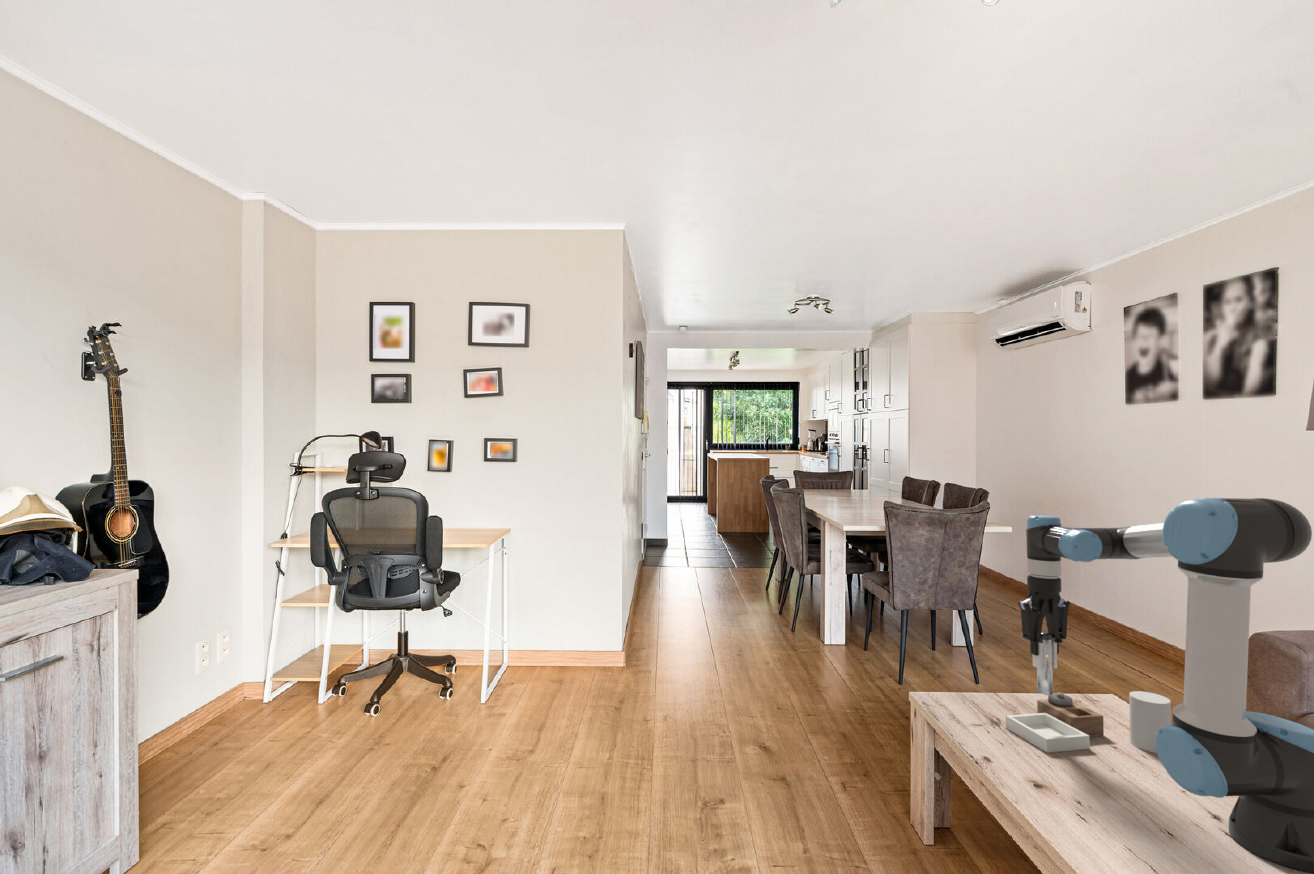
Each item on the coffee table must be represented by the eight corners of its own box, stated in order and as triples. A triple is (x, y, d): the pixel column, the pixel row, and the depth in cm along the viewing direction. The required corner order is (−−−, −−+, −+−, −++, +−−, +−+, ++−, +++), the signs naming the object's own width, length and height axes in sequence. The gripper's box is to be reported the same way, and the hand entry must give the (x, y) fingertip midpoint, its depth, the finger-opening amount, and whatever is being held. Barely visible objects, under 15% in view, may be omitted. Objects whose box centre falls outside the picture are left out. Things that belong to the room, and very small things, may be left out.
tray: (1089, 748, 156) (1089, 735, 156) (1046, 752, 154) (1046, 739, 154) (1045, 724, 169) (1045, 712, 169) (1005, 727, 167) (1005, 715, 167)
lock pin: (1055, 694, 161) (1055, 634, 161) (1044, 695, 160) (1043, 635, 160) (1045, 689, 164) (1045, 630, 164) (1034, 690, 163) (1033, 631, 164)
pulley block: (1103, 735, 163) (1103, 705, 163) (1073, 737, 162) (1072, 707, 162) (1066, 716, 175) (1065, 688, 175) (1037, 718, 173) (1037, 690, 174)
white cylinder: (1178, 749, 155) (1177, 700, 156) (1160, 756, 152) (1159, 705, 152) (1141, 736, 163) (1140, 689, 163) (1123, 742, 159) (1122, 694, 160)
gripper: (1060, 571, 168) (1061, 660, 167) (1005, 573, 165) (1005, 663, 164) (1083, 577, 160) (1084, 670, 160) (1026, 579, 157) (1027, 673, 157)
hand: (1044, 666), depth 162 cm, fingers closed on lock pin, 3 cm apart
